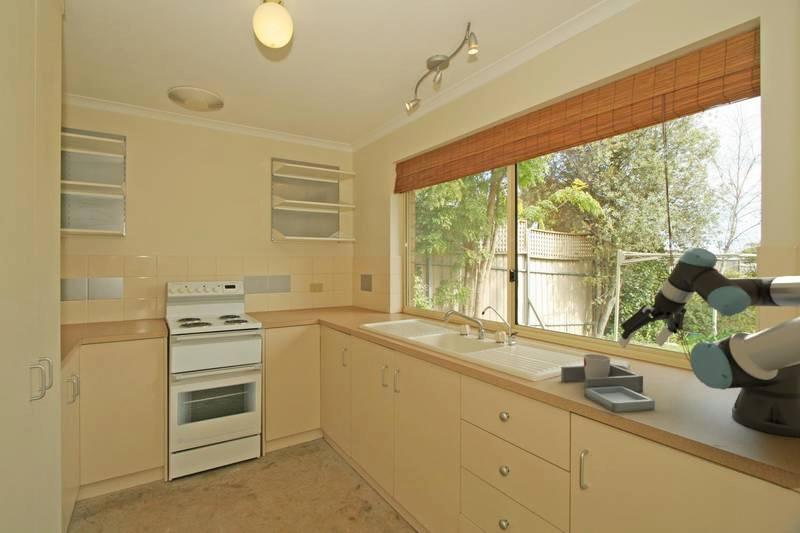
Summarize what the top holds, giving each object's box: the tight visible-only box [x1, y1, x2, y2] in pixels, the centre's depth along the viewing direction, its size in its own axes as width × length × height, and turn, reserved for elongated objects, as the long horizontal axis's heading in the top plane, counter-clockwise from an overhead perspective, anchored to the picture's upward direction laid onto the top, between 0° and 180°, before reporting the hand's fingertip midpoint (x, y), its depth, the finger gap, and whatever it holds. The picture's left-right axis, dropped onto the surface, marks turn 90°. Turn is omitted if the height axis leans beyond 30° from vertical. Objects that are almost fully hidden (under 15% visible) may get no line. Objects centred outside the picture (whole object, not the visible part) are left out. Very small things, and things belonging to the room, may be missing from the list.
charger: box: [610, 358, 631, 371], centre depth 149 cm, size 5×9×15 cm
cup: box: [583, 353, 611, 378], centre depth 132 cm, size 8×8×10 cm
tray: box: [584, 386, 656, 413], centre depth 117 cm, size 13×13×2 cm
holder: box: [560, 364, 644, 393], centre depth 133 cm, size 14×20×5 cm
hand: (639, 344), depth 128 cm, fingers open, 13 cm apart
